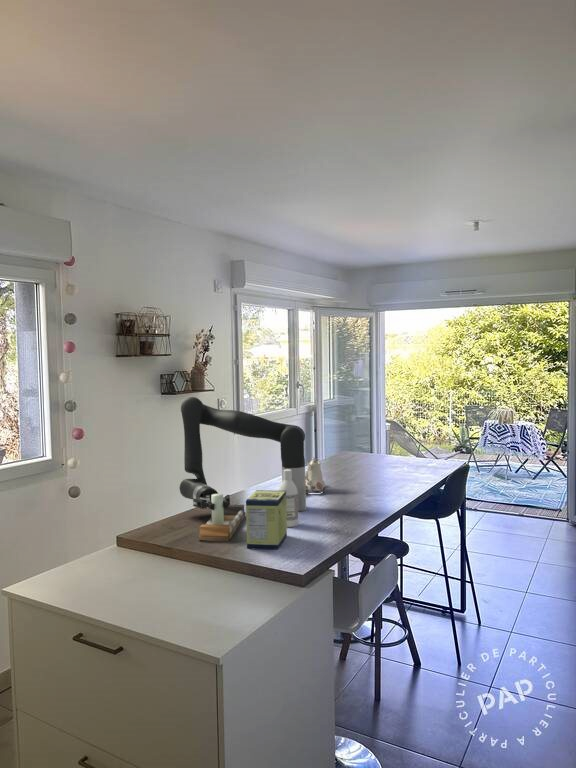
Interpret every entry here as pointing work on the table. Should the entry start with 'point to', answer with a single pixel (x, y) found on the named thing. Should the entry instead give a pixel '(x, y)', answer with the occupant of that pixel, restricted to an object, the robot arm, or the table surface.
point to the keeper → (217, 510)
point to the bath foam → (290, 498)
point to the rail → (223, 538)
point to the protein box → (266, 519)
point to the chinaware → (314, 477)
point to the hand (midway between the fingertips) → (219, 506)
